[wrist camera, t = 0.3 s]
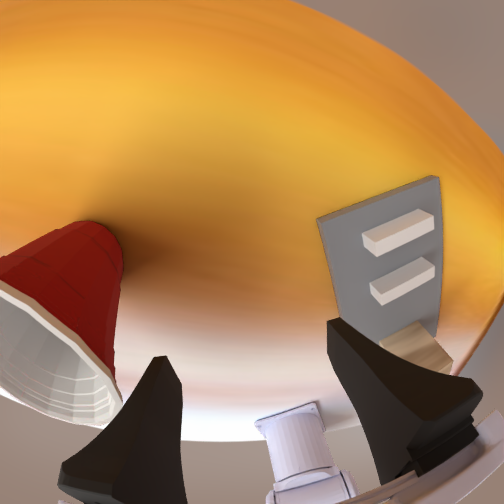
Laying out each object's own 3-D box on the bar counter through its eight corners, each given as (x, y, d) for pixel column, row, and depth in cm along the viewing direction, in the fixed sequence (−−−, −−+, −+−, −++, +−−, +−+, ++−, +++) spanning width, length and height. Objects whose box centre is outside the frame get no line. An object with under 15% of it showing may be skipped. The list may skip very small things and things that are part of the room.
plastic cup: (41, 296, 19) (-17, 395, 8) (37, 179, 15) (-78, 248, 4) (148, 325, 22) (128, 452, 11) (167, 204, 18) (116, 323, 7)
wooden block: (416, 334, 26) (449, 374, 20) (379, 354, 26) (409, 399, 20) (417, 320, 25) (453, 360, 19) (379, 340, 25) (412, 387, 19)
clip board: (431, 331, 28) (444, 345, 25) (350, 375, 28) (360, 394, 25) (431, 175, 20) (454, 182, 17) (316, 219, 20) (332, 232, 17)
